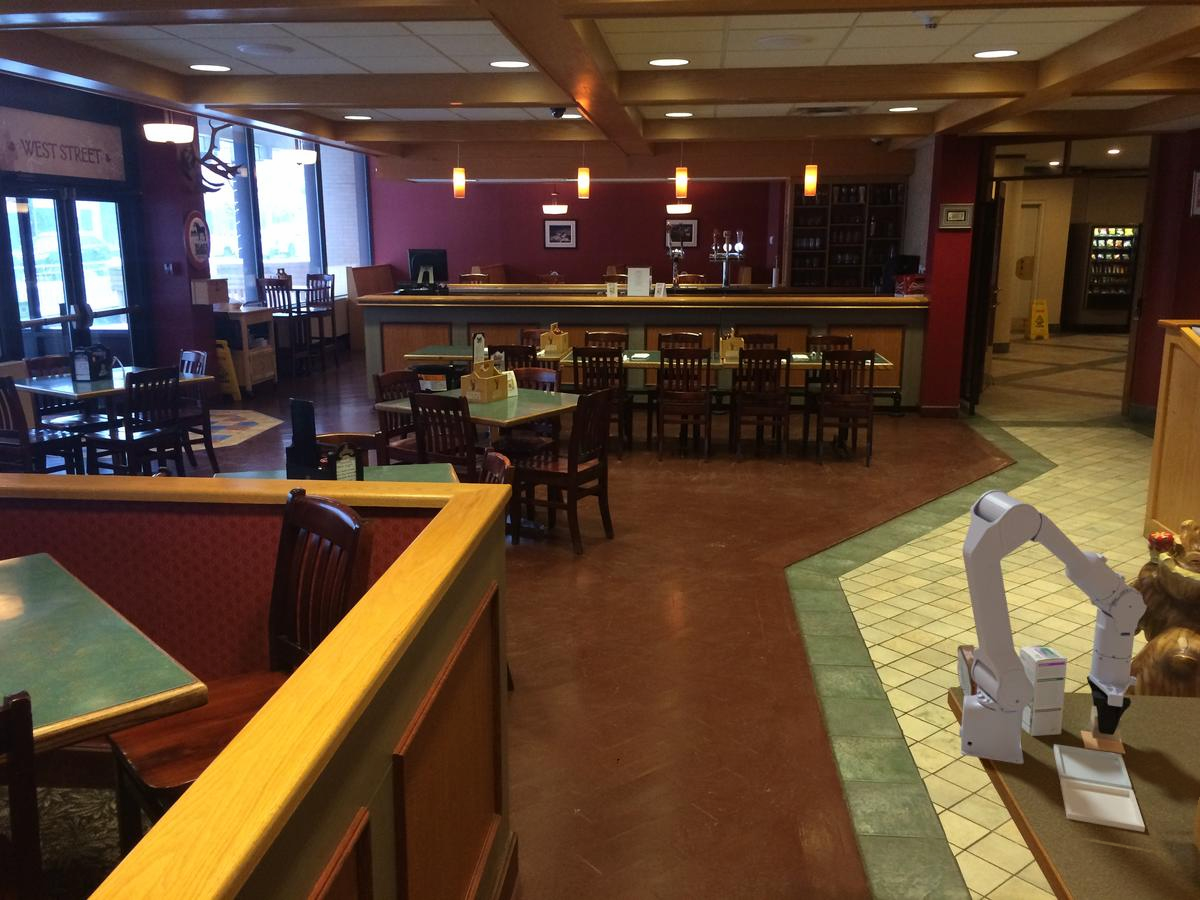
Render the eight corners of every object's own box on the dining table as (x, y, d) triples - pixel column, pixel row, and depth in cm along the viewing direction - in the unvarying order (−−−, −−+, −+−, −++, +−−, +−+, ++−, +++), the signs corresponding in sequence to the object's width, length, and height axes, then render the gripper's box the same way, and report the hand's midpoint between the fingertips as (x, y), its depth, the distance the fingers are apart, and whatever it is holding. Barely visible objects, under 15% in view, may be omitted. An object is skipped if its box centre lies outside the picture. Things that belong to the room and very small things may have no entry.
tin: (985, 714, 170) (988, 671, 168) (966, 713, 171) (970, 670, 169) (970, 678, 185) (973, 637, 183) (953, 676, 185) (956, 636, 183)
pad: (1084, 749, 158) (1085, 747, 158) (1080, 732, 163) (1080, 730, 163) (1125, 755, 156) (1125, 753, 156) (1119, 738, 161) (1119, 736, 161)
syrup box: (1062, 736, 162) (1069, 657, 159) (1029, 738, 162) (1036, 659, 159) (1043, 720, 168) (1050, 644, 165) (1012, 722, 167) (1018, 645, 164)
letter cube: (1092, 738, 158) (1095, 715, 157) (1089, 726, 162) (1091, 705, 161) (1119, 742, 156) (1122, 719, 156) (1115, 730, 160) (1118, 708, 159)
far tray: (1059, 781, 148) (1059, 774, 148) (1053, 750, 158) (1053, 743, 157) (1130, 793, 145) (1131, 786, 145) (1120, 760, 154) (1121, 754, 154)
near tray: (1066, 820, 138) (1067, 813, 138) (1059, 785, 148) (1060, 778, 147) (1143, 834, 135) (1144, 826, 135) (1132, 796, 144) (1132, 789, 144)
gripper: (1147, 673, 148) (1138, 751, 151) (1132, 637, 161) (1123, 710, 164) (1097, 666, 150) (1089, 744, 153) (1086, 632, 164) (1079, 704, 166)
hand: (1104, 726), depth 159 cm, fingers closed on letter cube, 4 cm apart
